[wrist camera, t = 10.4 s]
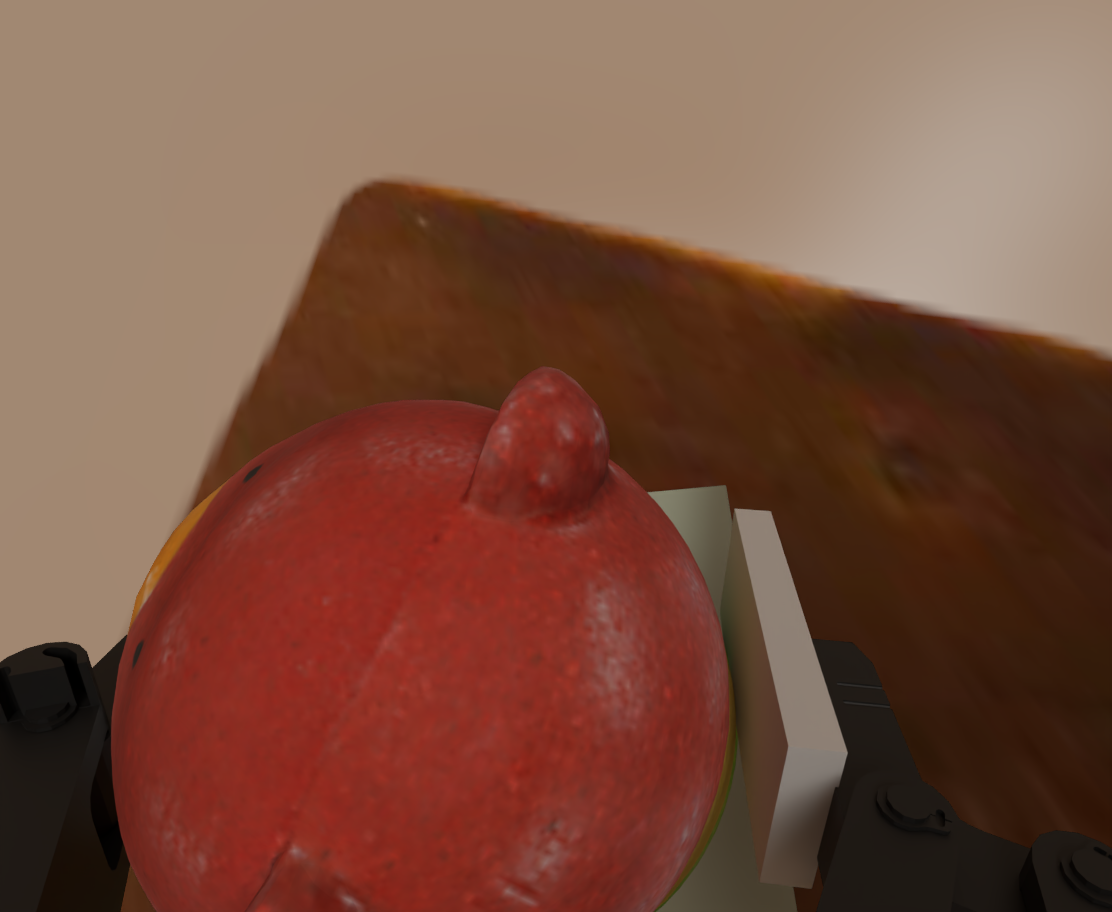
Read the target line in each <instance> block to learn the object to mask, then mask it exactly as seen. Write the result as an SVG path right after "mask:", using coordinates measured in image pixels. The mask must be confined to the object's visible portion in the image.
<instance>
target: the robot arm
mask: <svg viewBox="0 0 1112 912" xmlns="http://www.w3.org/2000/svg"><path fill="white" fill-rule="evenodd" d="M720 619H721V625H722V632H723V639H724V644H725V647H726V651H727V654H728V659H729V668H730V672H731V677H732V682H733V688H734V694H735V708H736V727H737V734H738V741H739V748H740V755H741V761H742V768H743V775H744V782H745V789H746V796H747V802H748V809H749V816H750V823H751V830H752V836H753V843H754V850H755V857H756V864H757V870H758V877H759V882H760V883H768V884H776V885H784V886H793V887H801V888H809V889H812V886H813V882H814V879H815V875H816V871H817V867H818V865H819V869H820V873H821V878H822V882H823V886H824V888H823V891H822V894H821V898H820V901H819V904H818V907H817V911H816V912H1112V849H1111V848H1110V847H1108V846H1106V845H1105V844H1103V843H1102V842H1099V841H1097V840H1094V839H1092V838H1089V837H1086V836H1084V835H1081V834H1079V833H1074V832H1065V831H1057V830H1056V831H1052V832H1048V833H1045V834H1041V835H1040V836H1039V837H1038V838H1037V840H1036V841H1035V842H1034V844H1033V845H1032V847H1031V849H1030V848H1027V847H1024V846H1022V845H1019V844H1016V843H1013V842H1011V841H1008V840H1005V839H1003V838H1000V837H997V836H994V835H992V834H989V833H986V832H984V831H982V830H979V829H977V828H975V827H973V826H971V825H968V824H967V823H965V822H963V821H962V820H960V819H959V818H958V816H957V815H956V813H955V811H954V810H953V808H952V806H951V805H950V803H949V801H947V800H946V799H945V798H944V797H943V796H942V795H941V794H940V793H939V792H938V791H937V790H936V789H934V788H933V787H932V786H930V785H928V784H927V783H925V782H923V781H922V779H921V777H920V775H919V773H918V770H917V768H916V766H915V763H914V761H913V758H912V756H911V754H910V751H909V749H908V746H907V744H906V742H905V739H904V737H903V735H902V732H901V730H900V727H899V725H898V723H897V720H896V718H895V715H894V713H893V711H892V709H890V704H889V701H888V699H887V696H886V694H885V692H884V690H882V684H881V682H880V680H879V677H878V675H877V673H876V670H875V668H874V665H873V663H872V662H871V661H870V660H869V659H868V658H867V657H866V656H865V655H864V654H863V653H862V652H861V651H860V650H859V649H858V648H857V647H856V646H855V645H854V644H853V643H852V642H841V641H830V640H819V639H811V636H810V633H809V630H808V627H807V624H806V621H805V617H804V614H803V611H802V608H801V605H800V602H799V599H798V596H797V592H796V589H795V586H794V583H793V580H792V577H791V574H790V570H789V567H788V564H787V561H786V558H785V555H784V552H783V549H782V545H781V542H780V539H779V536H778V533H777V530H776V527H775V523H774V520H773V517H772V514H771V511H759V510H746V509H735V510H734V517H733V523H732V530H731V537H730V544H729V551H728V558H727V565H726V572H725V578H724V585H723V592H722V599H721V606H720ZM126 639H127V635H126V636H125V637H124V638H123V639H122V640H121V641H120V642H119V643H118V644H116V645H115V646H114V647H113V648H112V649H111V650H110V651H109V652H108V653H107V654H106V655H105V656H104V657H103V658H102V659H101V660H100V661H99V662H98V663H97V664H96V665H95V666H94V667H93V668H92V667H91V664H90V661H89V657H88V654H87V652H86V651H85V650H84V649H83V648H82V647H81V646H80V645H77V644H73V643H68V642H55V643H45V644H42V645H38V646H34V647H30V648H27V649H25V650H22V651H20V652H18V653H16V654H14V655H11V656H9V657H7V658H6V659H4V660H3V661H1V662H0V912H120V911H121V906H122V901H123V896H124V891H125V887H126V882H127V877H128V872H129V867H130V862H129V860H128V856H127V853H126V850H125V847H124V843H123V840H122V837H121V832H120V827H119V822H118V816H117V811H116V804H115V796H114V788H113V776H112V756H111V724H112V711H113V704H114V697H115V690H116V683H117V676H118V669H119V664H120V660H121V657H122V653H123V650H124V646H125V643H126Z"/></svg>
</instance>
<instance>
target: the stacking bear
mask: <svg viewBox="0 0 1112 912" xmlns="http://www.w3.org/2000/svg"><path fill="white" fill-rule="evenodd" d="M609 454H610V447H609V432H608V430H607V427H606V424H605V421H604V419H603V416H602V413H601V411H600V408H599V406H598V405H597V404H596V403H595V402H594V401H593V400H592V399H591V397H590V396H589V395H588V394H587V393H586V392H585V391H584V390H583V388H582V387H581V386H580V385H579V384H578V383H577V382H576V381H575V380H574V379H572V378H571V377H570V376H568V375H567V374H565V373H564V372H562V371H561V370H558V369H554V368H550V367H543V366H541V367H540V368H538V369H536V370H534V371H532V372H530V373H529V374H527V375H526V376H525V377H524V378H522V379H521V380H520V381H519V382H517V384H516V385H515V387H514V388H513V390H512V391H511V392H510V394H509V395H508V397H507V398H506V400H505V401H504V402H503V404H502V406H501V408H500V410H499V411H497V410H494V409H491V408H488V407H484V406H479V405H475V404H471V403H466V402H461V401H449V400H402V401H394V402H386V403H380V404H376V405H372V406H368V407H364V408H360V409H356V410H352V411H348V412H346V413H343V414H340V415H338V416H335V417H332V418H330V419H327V420H324V421H322V422H320V423H317V424H315V425H312V426H311V427H309V428H307V429H305V430H303V431H301V432H299V433H297V434H295V435H293V436H291V437H290V438H288V439H286V440H284V441H282V442H280V443H278V444H276V445H274V446H272V447H270V448H269V449H267V450H266V451H264V452H263V453H261V454H260V455H258V456H257V457H255V458H254V459H252V460H251V461H250V462H249V463H247V464H246V465H245V466H244V467H243V468H242V469H240V470H239V471H238V472H237V473H236V474H235V475H233V476H232V477H231V478H230V479H229V480H228V481H226V482H225V483H224V484H223V485H222V486H221V487H219V488H218V489H217V490H215V491H214V492H213V493H212V494H210V495H209V496H208V497H207V498H206V499H205V500H204V501H203V502H201V503H200V504H199V505H198V506H197V507H196V508H195V509H194V510H192V512H191V513H190V514H189V515H188V516H187V517H186V518H185V519H184V520H183V521H182V523H181V524H180V525H179V526H178V527H177V528H176V529H175V530H174V531H173V533H172V534H171V536H170V537H169V539H168V540H167V542H166V543H165V545H164V546H163V548H162V550H161V551H160V553H159V555H158V556H157V558H156V560H155V561H154V563H153V565H152V567H151V569H150V571H149V573H148V575H147V577H146V579H145V581H144V583H143V585H142V587H141V589H140V591H139V593H138V595H137V597H136V601H135V606H134V610H133V614H132V618H131V623H130V627H129V631H128V635H127V639H126V643H125V646H124V650H123V653H122V657H121V660H120V664H119V669H118V676H117V683H116V690H115V697H114V704H113V711H112V724H111V756H112V776H113V788H114V796H115V804H116V811H117V816H118V822H119V827H120V832H121V837H122V840H123V843H124V847H125V850H126V853H127V856H128V860H129V862H130V864H131V866H132V868H133V870H134V872H135V874H136V876H137V879H138V881H139V883H140V885H141V886H142V888H143V890H144V892H145V893H146V895H147V897H148V899H149V900H150V902H151V904H152V906H153V907H154V909H155V910H156V911H157V912H656V911H658V910H659V909H660V908H661V907H662V906H664V905H665V904H666V902H667V901H668V900H669V899H670V898H671V897H672V896H673V895H674V894H675V893H676V892H677V891H678V890H679V889H680V887H681V886H682V885H683V883H684V882H685V881H686V879H687V878H688V877H689V876H690V874H691V873H692V871H693V870H694V869H695V867H696V866H697V864H698V863H699V861H700V859H701V858H702V856H703V855H704V853H705V851H706V849H707V847H708V845H709V843H710V842H711V840H712V838H713V836H714V834H715V832H716V830H717V827H718V825H719V822H720V820H721V817H722V815H723V812H724V809H725V806H726V803H727V799H728V796H729V792H730V789H731V785H732V780H733V775H734V770H735V765H736V756H737V746H738V734H737V727H736V708H735V694H734V688H733V682H732V677H731V672H730V668H729V659H728V654H727V651H726V647H725V644H724V641H723V636H722V630H721V626H720V622H719V619H718V616H717V613H716V609H715V606H714V603H713V601H712V598H711V595H710V592H709V590H708V587H707V584H706V582H705V579H704V577H703V575H702V573H701V571H700V569H699V567H698V565H697V563H696V561H695V559H694V557H693V555H692V553H691V551H690V549H689V547H688V545H687V544H686V542H685V541H684V539H683V538H682V536H681V535H680V533H679V531H678V530H677V528H676V527H675V525H674V524H673V522H672V521H671V520H670V519H669V517H668V516H667V515H666V514H665V512H664V511H663V510H662V509H661V507H660V506H659V505H658V503H657V502H656V501H655V500H654V499H653V498H652V497H651V496H650V495H649V494H648V493H647V492H646V491H645V490H644V489H643V488H642V487H641V486H640V485H639V484H638V483H637V482H636V481H635V480H634V479H633V478H632V477H631V476H630V475H629V474H628V473H627V472H626V471H625V470H624V469H622V468H621V467H619V466H618V465H617V464H615V463H614V462H613V461H611V460H610V459H609Z"/></svg>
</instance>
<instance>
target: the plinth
mask: <svg viewBox="0 0 1112 912" xmlns="http://www.w3.org/2000/svg"><path fill="white" fill-rule="evenodd" d="M648 494H649V495H650V496H651V497H652V498H653V499H654V500H655V501H656V502H657V503H658V505H659V506H660V507H661V509H662V510H663V511H664V512H665V514H666V515H667V516H668V517H669V519H670V520H671V521H672V522H673V524H674V525H675V527H676V528H677V530H678V531H679V533H680V535H681V536H682V538H683V539H684V541H685V542H686V544H687V545H688V547H689V549H690V551H691V553H692V555H693V557H694V559H695V561H696V563H697V565H698V567H699V569H700V571H701V573H702V575H703V577H704V579H705V582H706V584H707V587H708V590H709V592H710V595H711V598H712V601H713V603H714V606H715V609H716V613H717V616H718V619H719V622H720V626H721V630H722V625H721V619H720V606H721V599H722V592H723V585H724V578H725V572H726V565H727V558H728V551H729V544H730V537H731V530H732V519H731V513H730V507H729V501H728V496H727V490H726V485H724V486H713V487H702V488H691V489H680V490H670V491H659V492H648ZM722 636H723V632H722ZM723 641H724V639H723ZM656 912H797V907H796V901H795V895H794V889H793V886H784V885H776V884H768V883H760V882H759V877H758V870H757V864H756V857H755V850H754V843H753V836H752V830H751V823H750V816H749V809H748V802H747V796H746V789H745V782H744V775H743V768H742V761H741V755H740V748H739V741H738V746H737V756H736V765H735V770H734V775H733V780H732V785H731V789H730V792H729V796H728V799H727V803H726V806H725V809H724V812H723V815H722V817H721V820H720V822H719V825H718V827H717V830H716V832H715V834H714V836H713V838H712V840H711V842H710V843H709V845H708V847H707V849H706V851H705V853H704V855H703V856H702V858H701V859H700V861H699V863H698V864H697V866H696V867H695V869H694V870H693V871H692V873H691V874H690V876H689V877H688V878H687V879H686V881H685V882H684V883H683V885H682V886H681V887H680V889H679V890H678V891H677V892H676V893H675V894H674V895H673V896H672V897H671V898H670V899H669V900H668V901H667V902H666V904H665V905H664V906H662V907H661V908H660V909H659V910H658V911H656Z"/></svg>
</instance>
